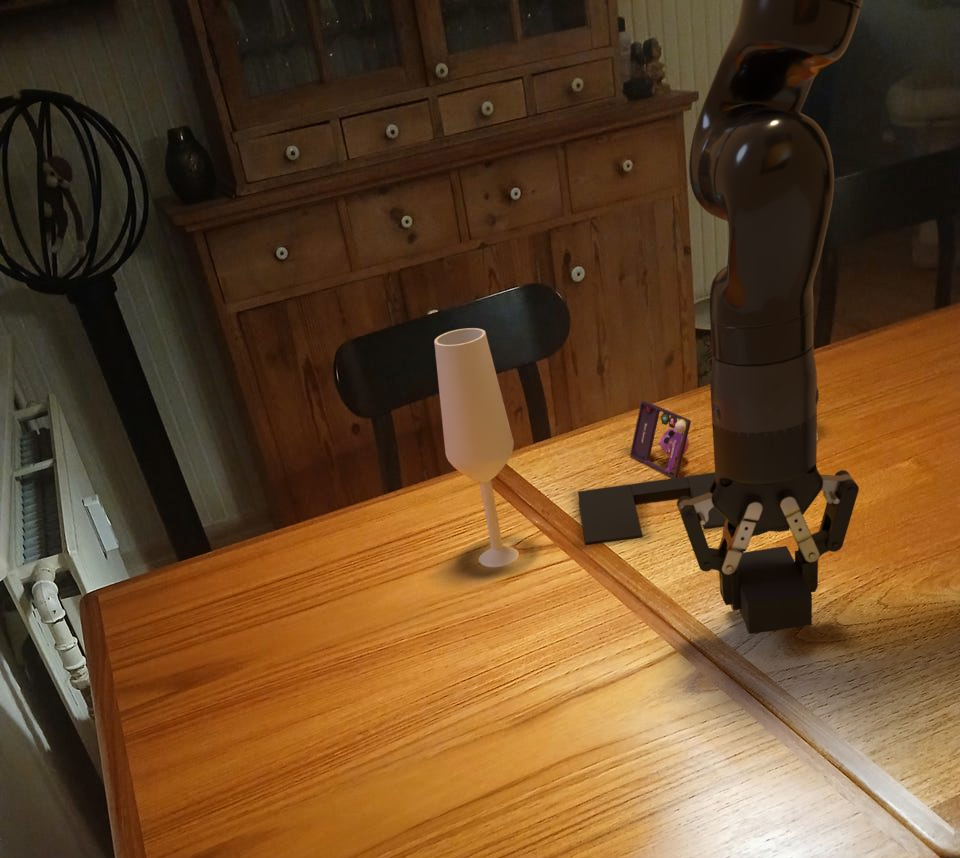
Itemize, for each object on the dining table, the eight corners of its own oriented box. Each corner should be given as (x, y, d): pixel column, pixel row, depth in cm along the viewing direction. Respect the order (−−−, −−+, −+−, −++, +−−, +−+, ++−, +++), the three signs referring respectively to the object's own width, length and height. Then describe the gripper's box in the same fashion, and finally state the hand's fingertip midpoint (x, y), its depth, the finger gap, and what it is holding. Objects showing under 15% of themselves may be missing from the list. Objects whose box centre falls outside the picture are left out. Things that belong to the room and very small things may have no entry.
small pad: (786, 575, 85) (786, 545, 84) (811, 625, 79) (812, 594, 77) (728, 584, 86) (727, 554, 84) (748, 634, 79) (747, 603, 78)
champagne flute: (472, 550, 106) (429, 330, 93) (534, 545, 105) (499, 320, 92) (464, 583, 101) (418, 353, 87) (529, 577, 99) (492, 344, 86)
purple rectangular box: (636, 400, 116) (683, 420, 109) (671, 401, 118) (719, 421, 111) (624, 455, 118) (669, 478, 112) (659, 456, 121) (705, 478, 114)
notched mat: (740, 478, 110) (739, 468, 109) (763, 529, 100) (763, 518, 99) (579, 500, 112) (577, 491, 111) (586, 552, 102) (584, 542, 101)
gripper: (847, 374, 75) (842, 565, 85) (659, 406, 77) (675, 590, 86) (879, 409, 69) (870, 611, 78) (674, 443, 71) (689, 637, 80)
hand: (768, 599), depth 82 cm, fingers closed on small pad, 5 cm apart
